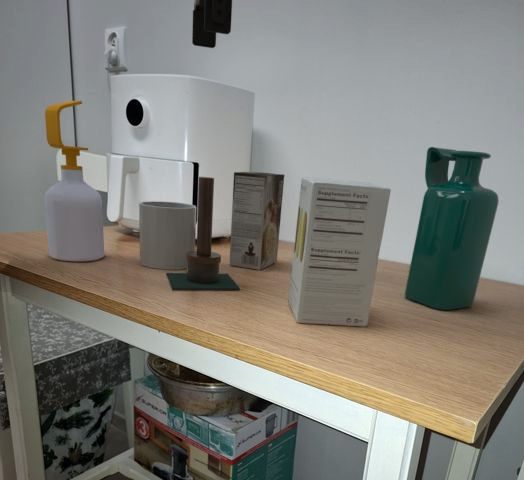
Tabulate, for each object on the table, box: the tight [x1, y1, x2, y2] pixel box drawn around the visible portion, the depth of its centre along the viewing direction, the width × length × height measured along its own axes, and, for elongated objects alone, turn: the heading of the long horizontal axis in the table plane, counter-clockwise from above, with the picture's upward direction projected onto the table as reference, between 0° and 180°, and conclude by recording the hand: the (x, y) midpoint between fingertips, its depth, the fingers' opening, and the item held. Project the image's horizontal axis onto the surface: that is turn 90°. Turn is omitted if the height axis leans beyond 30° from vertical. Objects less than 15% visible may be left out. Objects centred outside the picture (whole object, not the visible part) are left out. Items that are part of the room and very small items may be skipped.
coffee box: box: [228, 171, 285, 271], centre depth 88 cm, size 9×6×16 cm
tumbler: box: [138, 200, 197, 271], centre depth 84 cm, size 9×9×10 cm
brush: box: [186, 176, 222, 284], centre depth 72 cm, size 5×5×15 cm
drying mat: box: [166, 272, 241, 291], centre depth 75 cm, size 10×9×1 cm
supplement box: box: [288, 176, 392, 328], centre depth 62 cm, size 10×9×17 cm
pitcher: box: [404, 146, 499, 311], centre depth 72 cm, size 10×8×22 cm
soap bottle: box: [43, 100, 105, 263], centre depth 80 cm, size 9×9×25 cm
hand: (210, 39), depth 63 cm, fingers open, 9 cm apart
